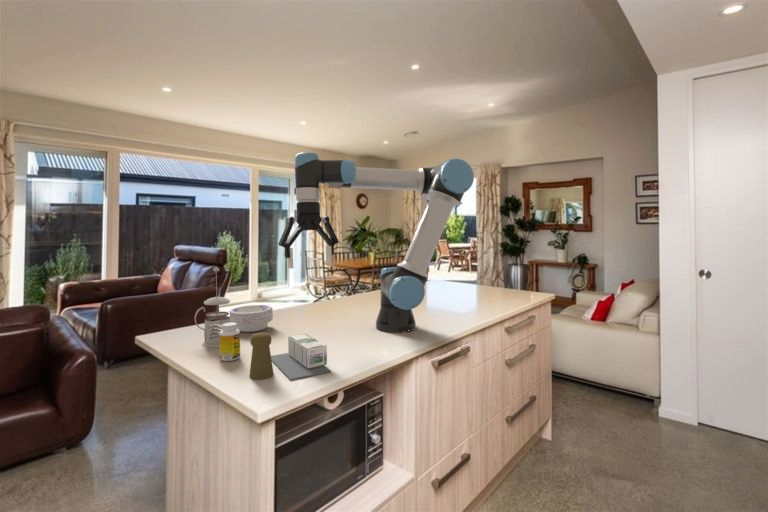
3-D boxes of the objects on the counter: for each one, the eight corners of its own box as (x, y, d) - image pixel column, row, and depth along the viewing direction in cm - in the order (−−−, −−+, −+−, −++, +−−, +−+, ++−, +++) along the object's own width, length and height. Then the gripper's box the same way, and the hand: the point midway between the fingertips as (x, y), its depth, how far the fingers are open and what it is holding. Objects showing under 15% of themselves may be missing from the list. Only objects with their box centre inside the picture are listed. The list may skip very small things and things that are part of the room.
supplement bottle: (236, 362, 110) (235, 326, 109) (216, 361, 110) (215, 326, 109) (243, 355, 116) (242, 321, 115) (224, 355, 116) (223, 321, 115)
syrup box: (287, 355, 115) (308, 370, 103) (287, 335, 115) (307, 348, 103) (305, 351, 118) (327, 365, 106) (305, 332, 118) (327, 344, 106)
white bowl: (223, 328, 146) (223, 307, 145) (262, 322, 156) (261, 302, 156) (239, 337, 135) (239, 314, 134) (280, 329, 145) (279, 308, 144)
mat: (268, 357, 114) (268, 356, 114) (304, 351, 120) (304, 350, 120) (290, 380, 97) (290, 379, 97) (330, 372, 103) (330, 370, 103)
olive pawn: (244, 378, 98) (243, 336, 97) (256, 370, 104) (255, 329, 103) (267, 380, 97) (266, 337, 96) (277, 371, 103) (276, 330, 102)
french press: (236, 344, 126) (234, 268, 125) (196, 350, 121) (194, 269, 119) (231, 337, 135) (229, 265, 133) (194, 341, 129) (192, 266, 127)
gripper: (336, 203, 137) (338, 262, 139) (266, 201, 123) (269, 268, 125) (347, 201, 131) (349, 264, 133) (274, 200, 117) (277, 270, 118)
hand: (310, 266), depth 129 cm, fingers open, 13 cm apart
